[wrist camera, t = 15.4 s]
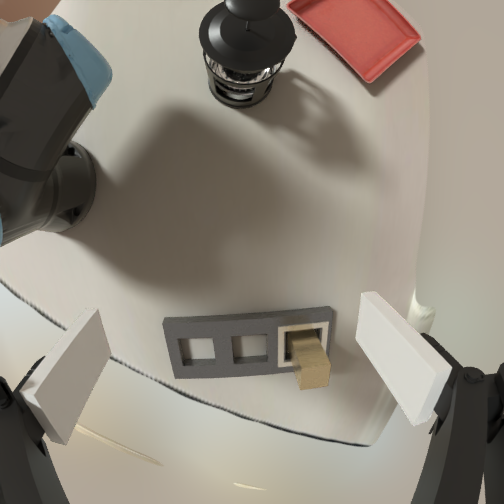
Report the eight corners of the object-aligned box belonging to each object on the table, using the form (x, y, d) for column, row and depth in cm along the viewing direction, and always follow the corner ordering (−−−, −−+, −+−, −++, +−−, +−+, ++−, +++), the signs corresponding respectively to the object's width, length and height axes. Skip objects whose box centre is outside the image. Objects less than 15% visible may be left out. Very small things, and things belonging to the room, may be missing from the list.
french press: (223, 122, 39) (217, 72, 17) (193, 72, 36) (160, -10, 14) (293, 87, 38) (354, 21, 16) (262, 39, 35) (291, -53, 13)
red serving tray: (414, 42, 36) (423, 37, 33) (360, 89, 39) (369, 85, 35) (345, -24, 31) (351, -33, 28) (279, 14, 34) (283, 5, 31)
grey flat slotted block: (176, 371, 50) (174, 379, 48) (164, 317, 47) (161, 324, 44) (324, 360, 52) (327, 367, 50) (329, 306, 48) (333, 312, 46)
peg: (287, 349, 50) (300, 390, 40) (287, 329, 49) (301, 368, 38) (311, 346, 51) (327, 385, 40) (312, 326, 49) (331, 364, 39)
